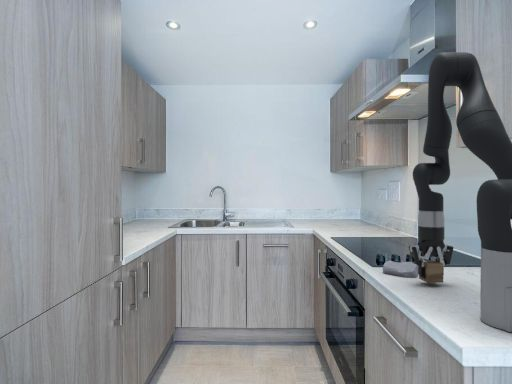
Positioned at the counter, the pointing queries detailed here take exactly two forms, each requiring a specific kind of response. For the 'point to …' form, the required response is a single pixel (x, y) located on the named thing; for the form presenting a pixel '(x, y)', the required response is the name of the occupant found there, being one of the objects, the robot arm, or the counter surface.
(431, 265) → the walnut block
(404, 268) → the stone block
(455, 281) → the counter surface
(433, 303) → the counter surface
